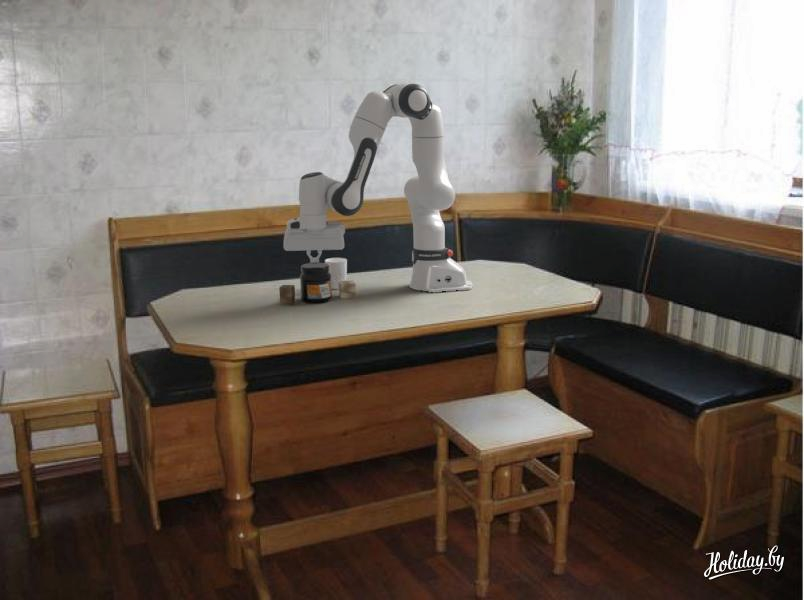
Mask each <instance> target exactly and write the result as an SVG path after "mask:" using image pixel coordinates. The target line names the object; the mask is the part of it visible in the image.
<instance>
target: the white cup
mask: <svg viewBox="0 0 804 600" xmlns="http://www.w3.org/2000/svg"><path fill="white" fill-rule="evenodd" d="M324 263H326V264H328V265H329V266H330V271H329V273H330V274H331V290H339V284H338V281H347V276H348V275H347V274H348V273H347V272H348V259H347V258H344V257H331V258H326V259H324Z"/></svg>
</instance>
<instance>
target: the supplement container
mask: <svg viewBox="0 0 804 600" xmlns="http://www.w3.org/2000/svg"><path fill="white" fill-rule="evenodd" d="M300 271H301V274H300V276H299V280H300V281H299V282H300V300H302V302H304V303H307V304H323V303H328V302H329V301H331V300H332V299H333V298H332V297H333V294H332V289H331V274H330V273H329V271H330V266H329V265H328V264H326V263H325V262H319V263H314V264H310V262H309V263H305V264H302V265H301V266H300Z"/></svg>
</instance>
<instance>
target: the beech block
mask: <svg viewBox="0 0 804 600" xmlns="http://www.w3.org/2000/svg"><path fill="white" fill-rule="evenodd" d="M338 284H339V289H338V296H339V298H340V299H341V298H342V300H343V298H344V299H354V298H355V297H356V298H357V291H356V290H357V288H356V287H357V285H356V284H357V283H356V282H355V281H354V280H346V281H338Z"/></svg>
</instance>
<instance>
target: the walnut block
mask: <svg viewBox="0 0 804 600" xmlns="http://www.w3.org/2000/svg"><path fill="white" fill-rule="evenodd" d="M278 288H279V289H278V290H279V306H293V305H294V304H295V303H296V291H295V284H282V285H281V286H279V287H278Z"/></svg>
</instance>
